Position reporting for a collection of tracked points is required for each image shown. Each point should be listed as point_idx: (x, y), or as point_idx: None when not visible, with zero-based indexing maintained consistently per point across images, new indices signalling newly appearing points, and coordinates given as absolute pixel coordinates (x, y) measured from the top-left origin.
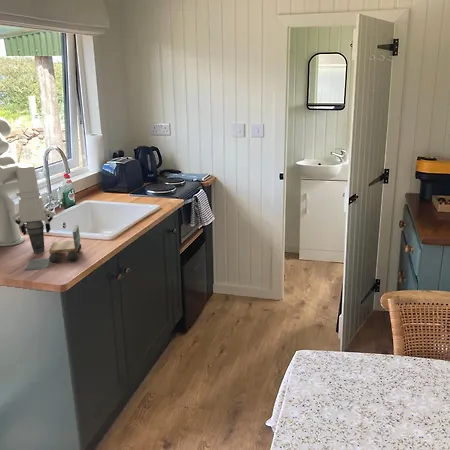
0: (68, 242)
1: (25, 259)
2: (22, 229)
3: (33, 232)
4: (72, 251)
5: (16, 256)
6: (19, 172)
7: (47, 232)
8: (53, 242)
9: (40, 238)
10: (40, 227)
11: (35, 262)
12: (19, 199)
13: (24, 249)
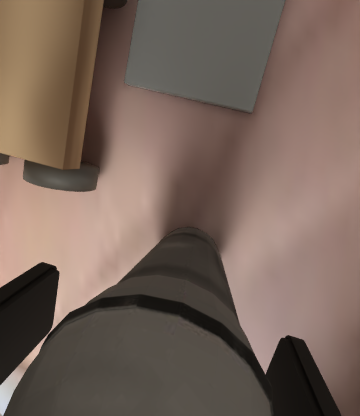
0: None
1: (276, 163)
2: (335, 406)
3: (186, 287)
4: None
5: (321, 245)
6: None
7: (49, 264)
8: (59, 166)
9: (145, 260)
10: (68, 318)
11: (224, 37)
12: None
13: (262, 335)
